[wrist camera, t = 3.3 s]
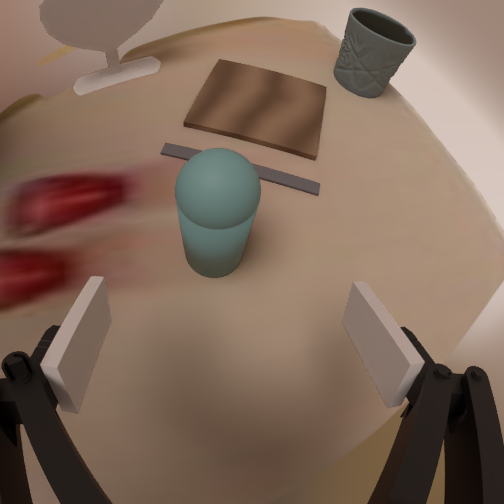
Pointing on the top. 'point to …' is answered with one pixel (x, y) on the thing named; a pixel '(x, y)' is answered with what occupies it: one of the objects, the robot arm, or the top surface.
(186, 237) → the teal domed cylinder
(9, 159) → the top surface
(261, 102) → the board
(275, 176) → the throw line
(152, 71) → the heart sculpture
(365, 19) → the grey textured cup
